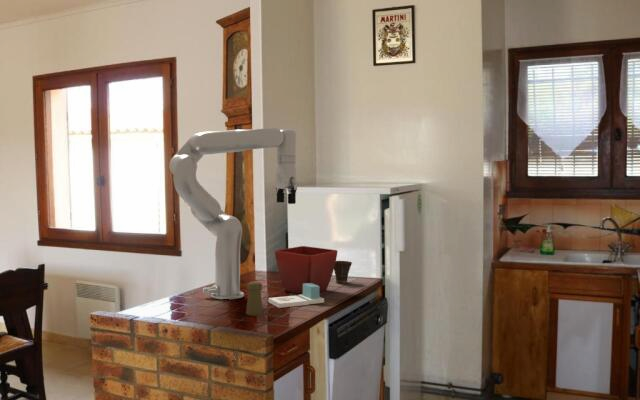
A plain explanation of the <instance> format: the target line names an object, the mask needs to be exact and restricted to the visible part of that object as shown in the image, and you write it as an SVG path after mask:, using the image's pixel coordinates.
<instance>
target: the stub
mask: <svg viewBox="0 0 640 400" xmlns="http://www.w3.org/2000/svg"><path fill="white" fill-rule="evenodd" d="M319 290H320V286H318V285H315V284H313V283H305V284H303V294H301V293H300V294H297V295H298V296H300V297H302V298H304V299H306V300H309V305H314V304H323V303H325V298H323V297H321V296H320V292H319Z"/></svg>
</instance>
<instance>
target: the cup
mask: <svg viewBox="0 0 640 400" xmlns="http://www.w3.org/2000/svg"><path fill="white" fill-rule="evenodd" d="M352 264H353V262H352V261H349V260H347V261H346V260H336V262H335V267H334V270H333V273H334V275H335V283H336V284H340V285H346V284H348V278H349V273H350V269H351V266H352ZM345 283H346V284H345Z"/></svg>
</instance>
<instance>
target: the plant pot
mask: <svg viewBox="0 0 640 400" xmlns="http://www.w3.org/2000/svg"><path fill="white" fill-rule="evenodd" d="M274 255H275V261H276V266H277V270H278V273H279V276H280V280H281V284H282V286H283V288H284V290H285V291H286V292H290V293H291V292H292V293H294V294H295V293H296V294H300V295H301V294H303V284H305V283H313V284H315V285H318V286H320V290H319V293H321V292H324V291H327V290H328V286H329V285H330V282H331V279H332V277H333V273H334V267H335V262H336V261H337V258H338V250H336V249H329V248H323V247H322V248H321V247H313V246H305V245H304V246H303V245H301V246H295V247H288V248H282V249H276V250H274Z"/></svg>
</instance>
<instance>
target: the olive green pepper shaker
mask: <svg viewBox="0 0 640 400" xmlns="http://www.w3.org/2000/svg"><path fill="white" fill-rule="evenodd" d="M246 288H247V291H248V295H247V302H246V309H245V310H246V311H245V315H247V314H248V315H247V316H261V315H264V308H263V300H262V290H263V283H262V282H261V281H255V280H254V281H250V282H248V284H247V286H246Z"/></svg>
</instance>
